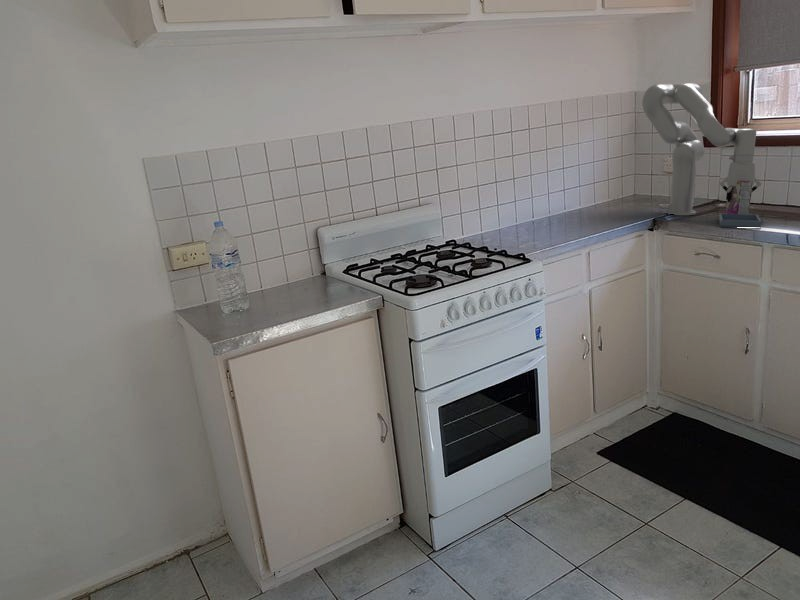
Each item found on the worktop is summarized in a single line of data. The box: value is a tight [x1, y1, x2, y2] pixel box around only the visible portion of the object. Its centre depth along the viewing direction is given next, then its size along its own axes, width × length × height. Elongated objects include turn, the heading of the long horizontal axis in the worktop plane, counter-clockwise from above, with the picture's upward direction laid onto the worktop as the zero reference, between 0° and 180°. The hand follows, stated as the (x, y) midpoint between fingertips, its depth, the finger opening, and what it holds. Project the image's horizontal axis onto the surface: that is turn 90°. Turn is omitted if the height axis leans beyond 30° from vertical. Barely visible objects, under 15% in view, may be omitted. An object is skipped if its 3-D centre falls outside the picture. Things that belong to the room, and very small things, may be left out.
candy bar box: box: [724, 181, 753, 215], centre depth 272 cm, size 11×5×16 cm, turn 179°
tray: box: [718, 213, 762, 229], centre depth 260 cm, size 14×16×3 cm
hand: (737, 201), depth 272 cm, fingers closed on candy bar box, 6 cm apart
